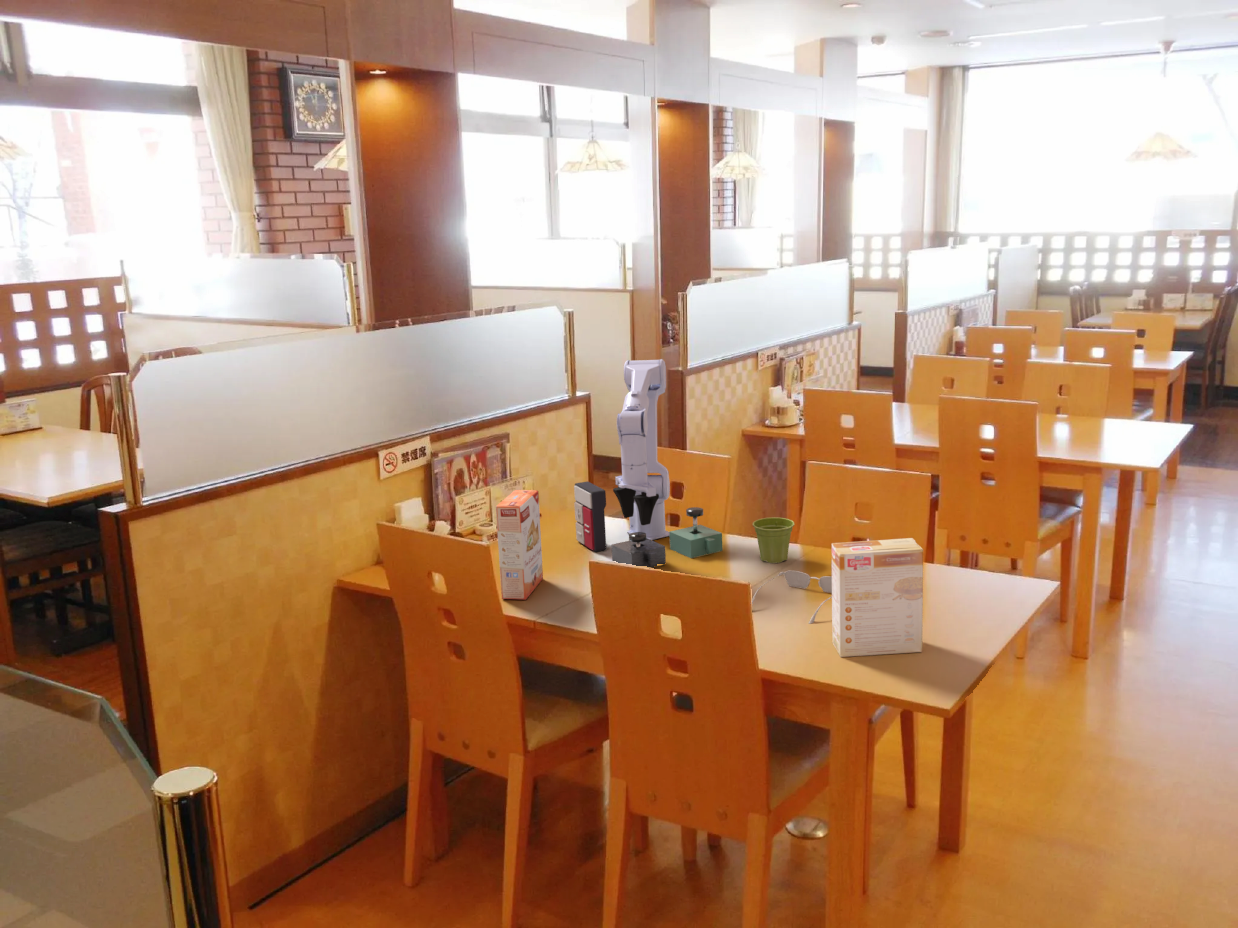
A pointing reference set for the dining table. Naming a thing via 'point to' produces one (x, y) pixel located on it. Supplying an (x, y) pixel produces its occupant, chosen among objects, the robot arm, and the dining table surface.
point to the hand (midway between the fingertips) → (636, 520)
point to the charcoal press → (639, 553)
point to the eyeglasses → (805, 584)
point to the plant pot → (773, 538)
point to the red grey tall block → (590, 515)
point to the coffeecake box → (877, 597)
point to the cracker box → (519, 544)
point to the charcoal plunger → (637, 537)
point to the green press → (696, 541)
